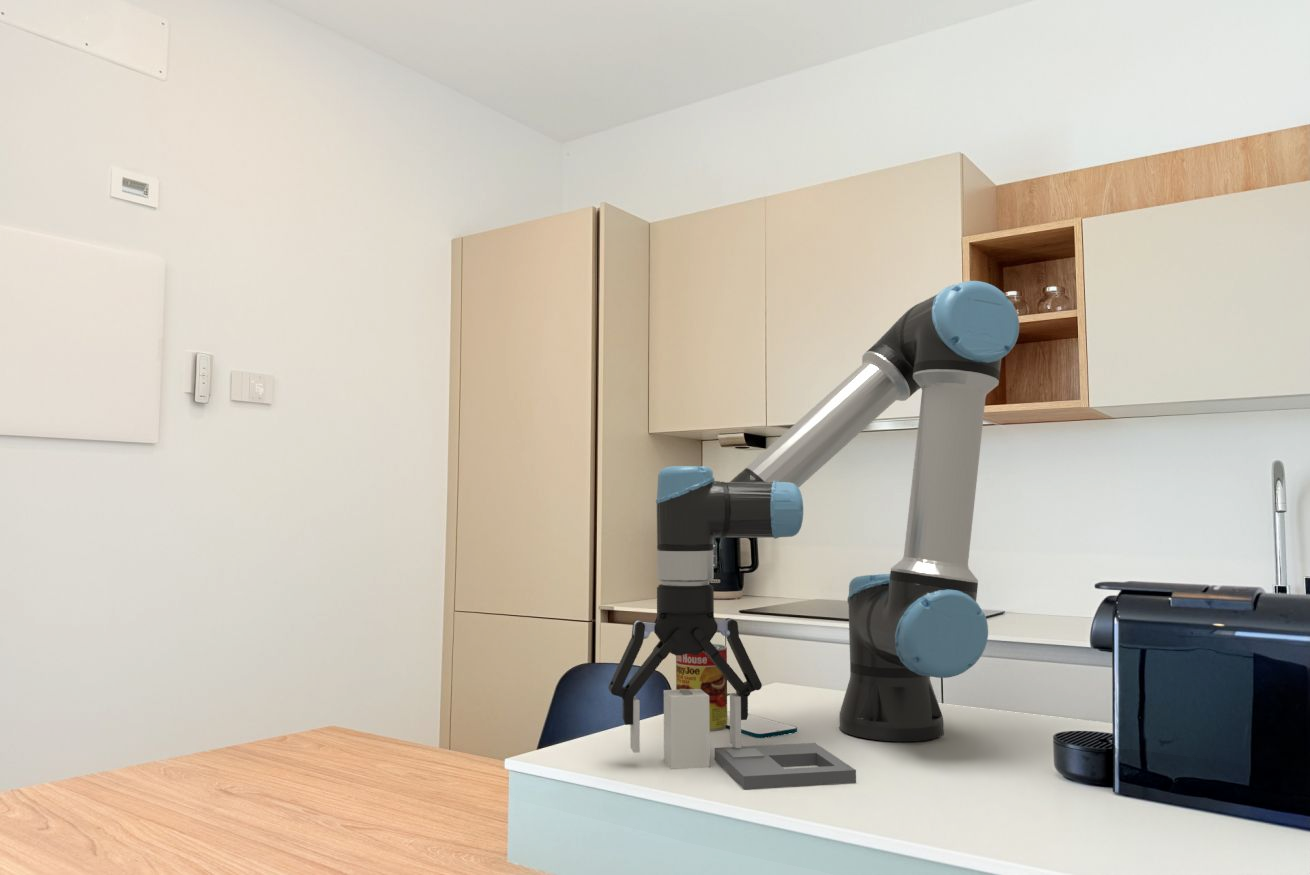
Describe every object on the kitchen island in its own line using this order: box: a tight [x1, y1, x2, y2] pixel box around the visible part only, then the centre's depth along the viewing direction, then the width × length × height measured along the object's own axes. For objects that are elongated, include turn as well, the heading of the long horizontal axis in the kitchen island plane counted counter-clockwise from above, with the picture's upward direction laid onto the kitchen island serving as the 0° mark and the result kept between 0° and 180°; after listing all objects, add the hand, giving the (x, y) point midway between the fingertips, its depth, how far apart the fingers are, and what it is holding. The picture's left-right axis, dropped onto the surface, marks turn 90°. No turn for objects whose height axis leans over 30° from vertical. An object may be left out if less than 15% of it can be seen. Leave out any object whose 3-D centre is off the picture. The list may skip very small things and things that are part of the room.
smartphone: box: [725, 711, 798, 739], centre depth 145 cm, size 8×1×16 cm
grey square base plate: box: [713, 742, 857, 790], centre depth 118 cm, size 14×14×2 cm
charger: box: [663, 689, 711, 770], centre depth 123 cm, size 5×5×9 cm
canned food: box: [675, 643, 728, 732], centre depth 145 cm, size 8×8×12 cm
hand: (685, 748), depth 122 cm, fingers open, 13 cm apart
